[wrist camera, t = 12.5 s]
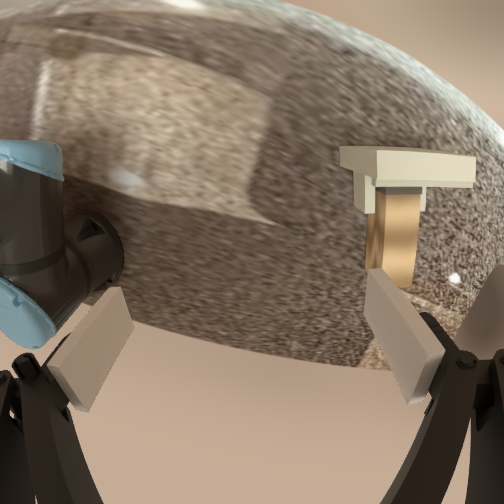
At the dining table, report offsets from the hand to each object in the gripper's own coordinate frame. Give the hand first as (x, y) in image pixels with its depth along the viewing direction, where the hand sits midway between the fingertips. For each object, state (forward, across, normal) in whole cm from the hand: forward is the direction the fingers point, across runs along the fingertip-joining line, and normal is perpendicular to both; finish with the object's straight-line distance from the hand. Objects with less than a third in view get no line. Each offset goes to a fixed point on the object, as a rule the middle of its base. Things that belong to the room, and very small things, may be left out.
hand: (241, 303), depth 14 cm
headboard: (+29, +20, +2) cm, 35 cm away
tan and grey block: (+29, +20, -6) cm, 35 cm away
